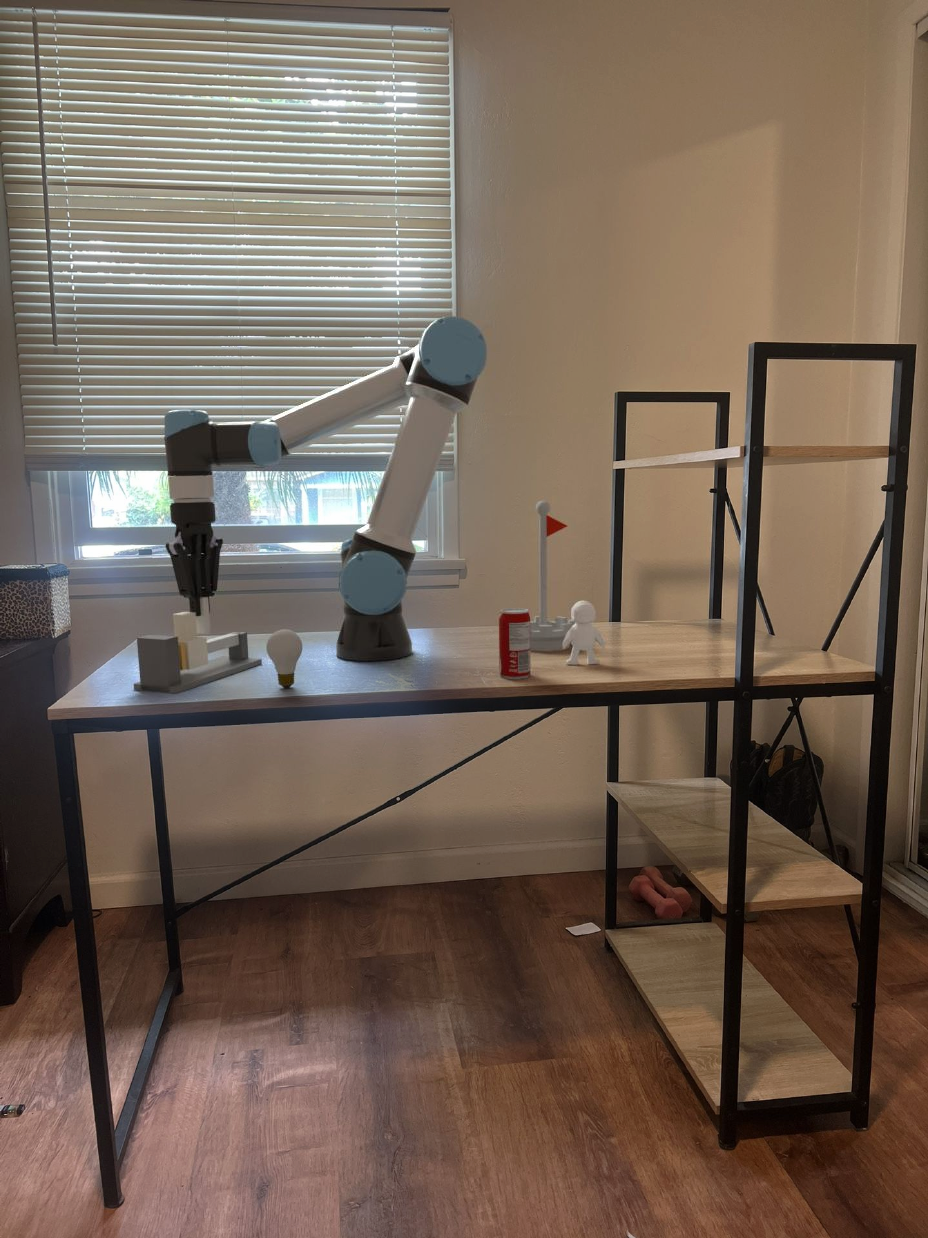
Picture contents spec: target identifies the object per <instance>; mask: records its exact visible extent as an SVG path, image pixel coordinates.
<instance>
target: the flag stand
mask: <svg viewBox="0 0 928 1238" xmlns="http://www.w3.org/2000/svg"><path fill="white" fill-rule="evenodd" d="M535 511H536V512H537V514H539V517H538V519H539V520H538V521H539V523H538V524H539V526H538V527H539V528H538V529H539V530H538V532H539V537H538V538H539V541H538V543H539V544H538V545H539V548H538V550H539V553H538V554H539V555H538V556H539V561H538V562H539V563H538V564H539V568H538V569H539V577H538V579H539V584H538V585H539V587H538V588H539V615H535V616H534V620H533V621H530V650H533V651H532V652H553V651H552V650H557V651H563V650H567V649H569V648H570V646H571V643H570V644H569V645H568V646H567V647H565V648H564V649H563V645H562V643H563V641H564V638H565V636H566V634H567V632H568V631H569V630H570V629H571V628H572V626H573V625H574V624H575V623H576V622H574V621H573V620H572V618H570V619H568V617H565V616H555V621H552V620H551V621H548V580H547V579H548V578H547V577H548V568H547V567H548V549H547V547H548V544H547V543H548V542H547V541H548V537H550V536H552V535H553V534H556V533H557V532H559V531H561V530H563V529H566V528H567V527H568V524H565V523H563V522H561V521H559V520H557V519H555V518H554V517H552V516H549V515H548V514H549V513H550V511H551V506H550V503H549V502H548V501H546V500H540V501H538V502H537V503H536V505H535Z"/></svg>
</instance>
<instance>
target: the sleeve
mask: <svg viewBox="0 0 928 1238" xmlns="http://www.w3.org/2000/svg"><path fill="white" fill-rule="evenodd" d="M172 621H173V636H178V644H185V655H186V669H187V670H190V669H193V668H197V667H200V666H203V665H206V664H208V661H209V657H208V654H207V640H208V639H207V637H204V636H198V634H197V628H196V613H195V612H190V611H181V612H178V613H172Z"/></svg>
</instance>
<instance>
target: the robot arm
mask: <svg viewBox="0 0 928 1238" xmlns="http://www.w3.org/2000/svg"><path fill="white" fill-rule="evenodd" d="M487 349H488V348H487V343H486V340H485V338H484V335H483V334H482V332H481V330H480V329H479V328H478V326H476V324H474V323H473V322H471V321H470V320H469V319H466V318H463V317H460V316H456V315H455V316H453V315H450V316H449V315H448V316H443V317H441V318H439V319H436V320H433V322H431V323H430V324H429V325H428V326H426V328H425V330H423V332H422V334H421V336H420V338H419V341H418V344H417V345H416V346H415V347H413V348H412V349H410V350H409V351H407V352H404V353H403V354H400V355H397V356H395V359H394V361H393V362H392V363H393V364H392V365H389V366H387V367H384V368H382V369H380V370H377V371H375V372H373V373H371V374H369V375H367V376H364V377H362V378H359V379H357V380H355V381H353V382H351V383H349V384H345V385H343V386H342V387H339V388H336V389H334V390H332V391H330V392H327V393H325V394H323V395H320V396H318V397H316V398H314V399H311V400H308V401H307V402H303V404H300V405H297V406H296V407H293V408H291V409H289V410H286V411H284V412H282V413H279V414H277V415H275V416H273V417H271V418H268V419H265V420H264V421H263V420H262V421H261V420H256V421H232V422H230V421H229V422H214V421H211V419H210V418H209V417H210V416H209V414H208V412H207V411H204V410H198V409H197V410H196V409H193V410H192V409H175V410H170V411H168V412H166V413H165V415H164V417H163V419H164V421H163V423H164V427H163V428H164V436H163V440H164V448H165V456H166V467H167V477H168V478H167V480H168V493H169V499H170V500H173V502H171V503H170V504H169V511H170V512H169V513H170V522H171V524H174V525H175V532H174V539H173V540H172V542H167V543H165V549H166V551H167V553H168V555H169V556H170V560H171V564H172V569H173V572H174V573H173V574H174V577H175V581H176V585H177V587H178V588H177V589H178V592H179V595H180V596H182V597H183V598H185V599H188V602H189V603H188V604H189V612H195V613H196V628H197V635H208V634H211V618H210V614H211V605H210V604H211V603H210V597H215V592H217V590H218V582H219V572H220V571H219V570H220V560H221V559H220V558H221V549H222V547H223V544H224V539H223V538H221V537H220V538H219V537H218V538H217V537H216V536H215V535H214V529H213V527H212V524H213V523H215V522H216V520H217V517H216V506H215V503H214V501H212V499H214V498H215V486H214V477H213V474H214V473H213V467H215V466H216V467H225V466H226V467H227V466H228V467H230V466H231V467H233V466H234V467H235V466H236V467H237V466H238V467H249V468H254V469H263V468H265V467H268V466H272V465H273V466H275V465H278V464H279V463H280V462H281V460H282V458H285V457H287V456H289V455H291V454H295V453H296V452H298V451H301V450H302V449H305V448H308V447H310V446H312V445H314V444H316V443H319V442H321V441H324V440H325V439H328V438H331V437H332V436H336V435H337V434H339V433H341V432H344V431H346V430H348V429H351V428H354V427H355V426H356V427H357V425H360V424H362V423H364V422H367V421H370V420H371V419H373V418H376V417H378V416H381V415H383V414H386V413H387V412H391V411H392V410H394V409H396V408H399V407H401V406H403V405H406V404H407V406H406V409H405V411H404V414H403V418H402V420H401V423H400V426H399V429H398V432H397V436H396V438H395V441H394V443H393V447H392V449H391V453H390V456H389V459H388V461H387V465H386V468H385V470H384V473H383V475H382V479H381V482H380V485H379V488H378V490H377V494H376V496H375V500H374V502H373V505H372V509H371V511H370V514H369V517H368V520H367V523H366V524H365V525H363V526H361V527H360V528H358V529H356V530H355V532H354V535H353V538H352V539H346V540H344V541H343V542H342V544H341V551H340V559H341V570H340V573H339V577H338V586H339V587H338V589H339V591H340V594H341V596H342V600H343V620H342V623H341V627H340V629H339V630H340V631H339V635H338V638H337V641H336V645H335V646H336V656H337V657H338V658H340V659H342V660H348V661H358V662H359V661H360V662H364V661H365V662H373V661H374V662H375V661H389V660H395V659H397V660H398V659H400V658H405V657H408V656H410V655H411V654H412V653H413V642H412V639H411V636H410V632H409V630H408V627H407V625H406V623H405V622H406V621H405V618H404V616H403V598H404V597H405V595H406V592H407V585H408V583H407V582H408V578H409V574H410V572H411V569H412V566H413V562H414V560H415V556H416V553H417V550H416V548H415V545H414V543H413V538H414V535H415V532H416V529H417V525H418V523H419V520H420V519H421V518H420V517H421V515H422V512H423V509H424V505H425V504H426V501H427V497H428V494H429V491H430V489H431V486H432V483H433V481H434V477H435V475H436V471H437V469H438V466H439V462H440V460H441V457H442V454H443V452H444V449H445V447H446V446H445V445H446V442H447V441H448V438H449V436H450V435H449V434H450V432H451V428H452V426H453V423H454V420H455V417H456V415H457V414H458V413H459V412H462V411H464V410H466V409H467V408H468V407H469V403H470V400H471V397H472V395H473V392H474V389H475V386H476V384H477V383H476V382H477V380H478V377H479V376H480V375H481V373H482V372H483V371H484V368H485V366H486V363H487V358H488V355H487V354H488V350H487Z"/></svg>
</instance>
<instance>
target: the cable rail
mask: <svg viewBox="0 0 928 1238" xmlns="http://www.w3.org/2000/svg"><path fill="white" fill-rule="evenodd" d="M248 641H249V640H248V631H247V632H244V631H243V632H242V631H233V632H227V634H223V635H219V636H217V637H216V636H215V637H214V638H213V637H212V638H210V639H207V654H211V653H215V652H218V651H222V650H226V649H228V656H226V655H223V656H219V657H215V658H213V659H208V664H206V665H203V666H200V667H197V668H193V669H190V670H187V669H186V655H185V644H178V636H174V635H160V634H159V635H158V634H146V635H143V636H139V637H136V645H137V658H138V659H137V660H138V669H139V682H134V683H133V690H135V691H136V690H137V691H144V692H145V691H148V692H159V693H169V694H179V693H182V692H185V691H188V690H192V689H193V688H196V687H200V686H202V685H206V684H208V683H210V682H214V681H216V680H220V679H223V678H225V677H228V676H232V675H234V674H237V673H240V672H243V671H246V670H248V669H251V668H254V667H257V666H259V665H262V663H263V660H262V659H263V658H253V657H249V644H248Z"/></svg>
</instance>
